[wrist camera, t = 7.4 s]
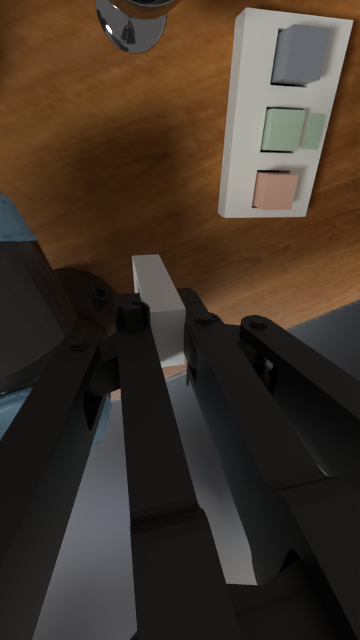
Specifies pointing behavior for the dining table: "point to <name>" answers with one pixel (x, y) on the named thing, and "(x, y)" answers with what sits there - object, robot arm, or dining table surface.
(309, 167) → the button board
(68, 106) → the dining table surface
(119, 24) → the silver goblet
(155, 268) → the robot arm
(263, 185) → the salmon pink button
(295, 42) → the slate grey button
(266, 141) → the sage button
